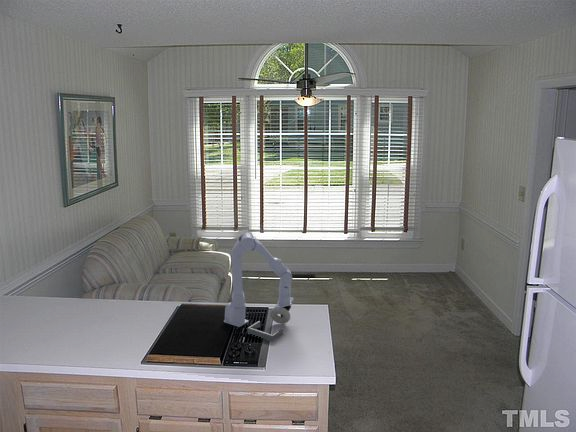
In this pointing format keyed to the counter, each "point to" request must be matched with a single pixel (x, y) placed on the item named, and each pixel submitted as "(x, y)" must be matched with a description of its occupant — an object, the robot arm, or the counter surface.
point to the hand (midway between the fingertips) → (283, 319)
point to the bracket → (264, 335)
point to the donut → (278, 318)
